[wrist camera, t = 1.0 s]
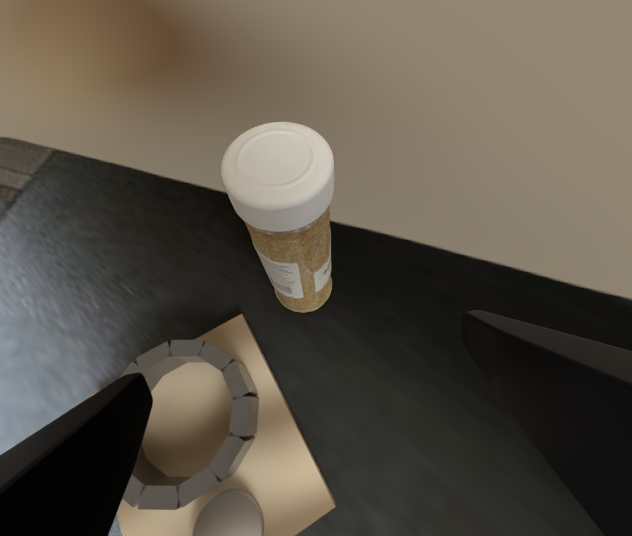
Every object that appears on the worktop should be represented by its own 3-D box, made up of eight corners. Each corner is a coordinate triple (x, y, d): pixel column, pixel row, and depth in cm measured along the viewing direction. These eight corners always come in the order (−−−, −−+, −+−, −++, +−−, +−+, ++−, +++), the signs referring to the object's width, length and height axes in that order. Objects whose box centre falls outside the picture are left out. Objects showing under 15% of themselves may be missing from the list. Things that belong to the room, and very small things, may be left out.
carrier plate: (335, 502, 18) (335, 512, 16) (156, 628, 16) (134, 656, 14) (245, 317, 23) (237, 309, 21) (100, 396, 21) (78, 395, 19)
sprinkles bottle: (343, 294, 24) (358, 170, 11) (291, 325, 23) (248, 225, 11) (312, 250, 25) (297, 101, 13) (263, 277, 24) (199, 145, 12)
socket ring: (281, 443, 19) (274, 448, 16) (146, 531, 17) (117, 549, 15) (227, 325, 22) (215, 315, 20) (109, 389, 20) (82, 386, 18)
